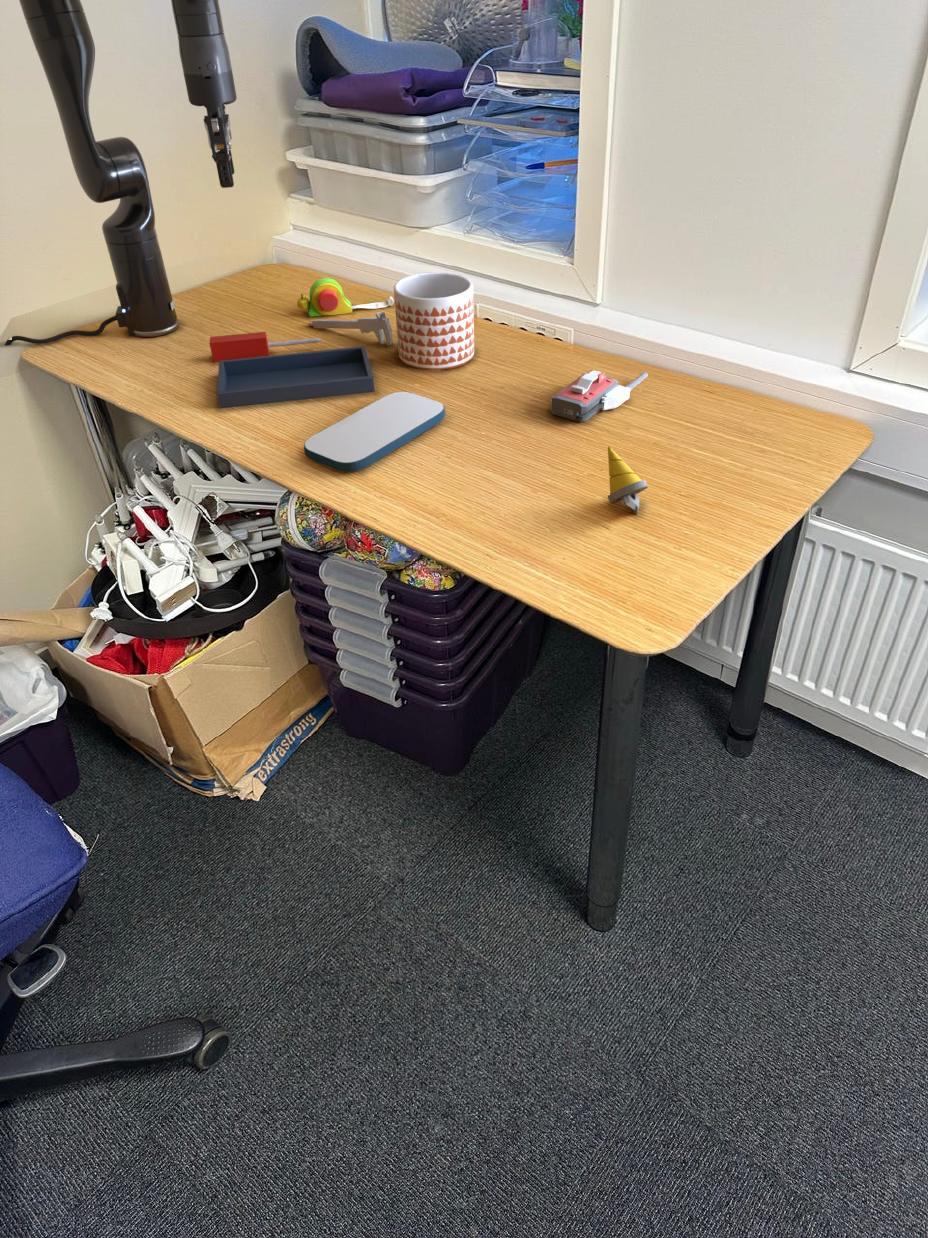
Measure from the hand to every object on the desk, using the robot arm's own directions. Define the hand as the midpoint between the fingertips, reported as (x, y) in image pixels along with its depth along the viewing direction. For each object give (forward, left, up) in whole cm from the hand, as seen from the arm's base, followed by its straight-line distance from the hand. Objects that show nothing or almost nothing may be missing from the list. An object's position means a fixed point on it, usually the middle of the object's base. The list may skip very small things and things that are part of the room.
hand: (228, 180), depth 147 cm
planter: (+32, -15, -28) cm, 45 cm away
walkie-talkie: (+55, -39, -28) cm, 73 cm away
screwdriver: (+2, -7, -28) cm, 29 cm away
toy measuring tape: (+18, +12, -28) cm, 36 cm away
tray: (+6, -21, -28) cm, 36 cm away
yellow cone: (+48, -70, -28) cm, 89 cm away
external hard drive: (+18, -43, -28) cm, 55 cm away
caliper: (+17, -2, -28) cm, 33 cm away
